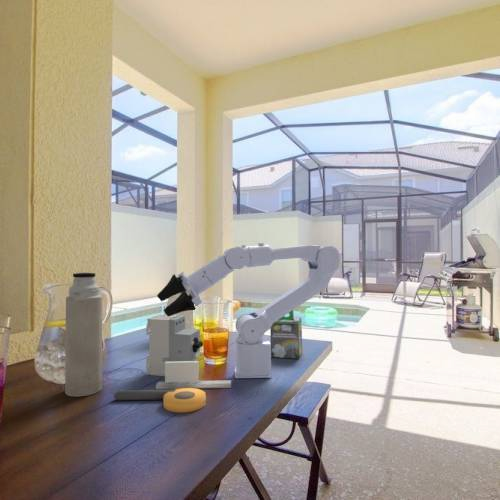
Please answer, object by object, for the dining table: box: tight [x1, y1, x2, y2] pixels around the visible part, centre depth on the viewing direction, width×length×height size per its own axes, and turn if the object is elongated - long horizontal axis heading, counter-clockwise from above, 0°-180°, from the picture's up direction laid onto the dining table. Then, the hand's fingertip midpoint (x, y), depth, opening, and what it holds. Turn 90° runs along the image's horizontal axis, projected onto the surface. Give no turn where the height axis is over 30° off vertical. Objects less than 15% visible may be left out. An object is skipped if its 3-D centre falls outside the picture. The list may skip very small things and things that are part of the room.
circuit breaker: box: [145, 314, 204, 377], centre depth 103 cm, size 8×14×15 cm, turn 78°
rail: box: [155, 379, 232, 390], centre depth 91 cm, size 18×2×1 cm, turn 93°
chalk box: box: [269, 310, 303, 360], centre depth 120 cm, size 9×9×15 cm
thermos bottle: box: [64, 272, 103, 398], centre depth 89 cm, size 8×8×28 cm
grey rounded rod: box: [113, 389, 176, 401], centre depth 83 cm, size 14×2×2 cm, turn 93°
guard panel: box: [164, 360, 199, 383], centre depth 91 cm, size 8×1×5 cm, turn 93°
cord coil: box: [162, 388, 207, 414], centre depth 80 cm, size 9×9×2 cm
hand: (162, 305), depth 97 cm, fingers open, 7 cm apart
